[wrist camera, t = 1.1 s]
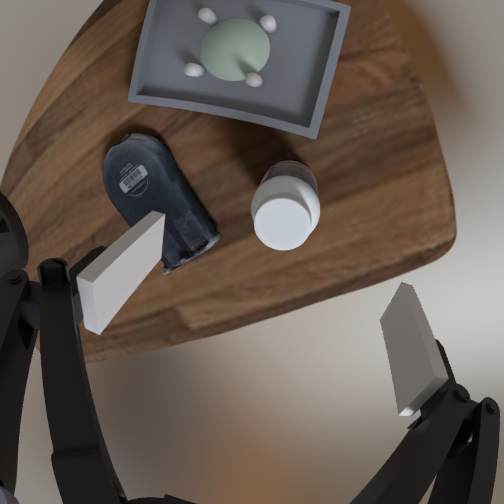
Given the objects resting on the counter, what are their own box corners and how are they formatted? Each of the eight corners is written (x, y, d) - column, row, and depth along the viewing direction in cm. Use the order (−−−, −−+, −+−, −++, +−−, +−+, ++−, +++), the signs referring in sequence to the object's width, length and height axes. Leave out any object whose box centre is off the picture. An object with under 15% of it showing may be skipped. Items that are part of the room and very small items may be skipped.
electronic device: (234, 218, 34) (147, 113, 27) (221, 250, 29) (117, 130, 23) (179, 249, 38) (101, 162, 32) (162, 279, 34) (73, 184, 28)
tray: (140, 100, 27) (122, 102, 24) (166, -11, 21) (151, -21, 17) (314, 136, 26) (316, 140, 23) (347, 14, 20) (352, 3, 17)
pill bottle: (258, 162, 28) (238, 190, 20) (314, 157, 27) (320, 184, 19) (265, 213, 31) (249, 261, 22) (318, 210, 30) (323, 258, 21)
